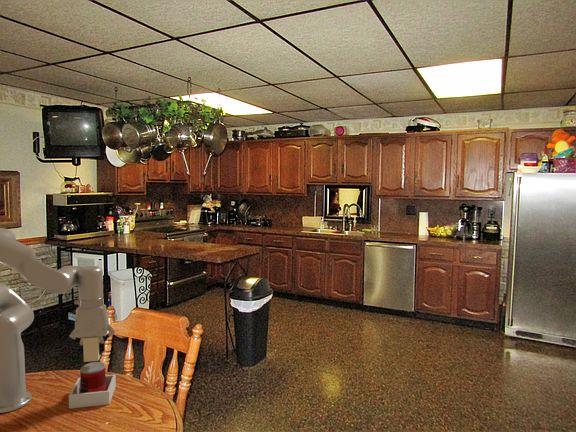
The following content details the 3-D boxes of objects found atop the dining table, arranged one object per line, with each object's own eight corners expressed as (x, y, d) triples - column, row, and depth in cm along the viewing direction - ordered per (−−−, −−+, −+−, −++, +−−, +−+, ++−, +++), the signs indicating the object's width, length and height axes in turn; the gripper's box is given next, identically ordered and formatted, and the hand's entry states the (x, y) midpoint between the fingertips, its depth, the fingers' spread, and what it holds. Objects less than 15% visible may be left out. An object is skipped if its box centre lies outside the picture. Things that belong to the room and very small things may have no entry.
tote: (69, 408, 133) (68, 395, 133) (79, 389, 145) (78, 377, 145) (109, 404, 136) (109, 391, 136) (115, 386, 148) (115, 374, 148)
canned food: (110, 391, 144) (109, 362, 143) (97, 403, 136) (96, 372, 135) (90, 390, 145) (89, 360, 144) (76, 402, 137) (75, 371, 136)
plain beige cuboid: (83, 361, 136) (82, 338, 135) (88, 353, 142) (88, 331, 142) (98, 360, 137) (97, 337, 136) (102, 352, 143) (101, 330, 143)
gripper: (60, 307, 132) (63, 361, 134) (115, 304, 136) (117, 356, 138) (67, 301, 140) (69, 352, 141) (119, 298, 144) (121, 347, 145)
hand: (93, 353), depth 139 cm, fingers closed on plain beige cuboid, 4 cm apart
